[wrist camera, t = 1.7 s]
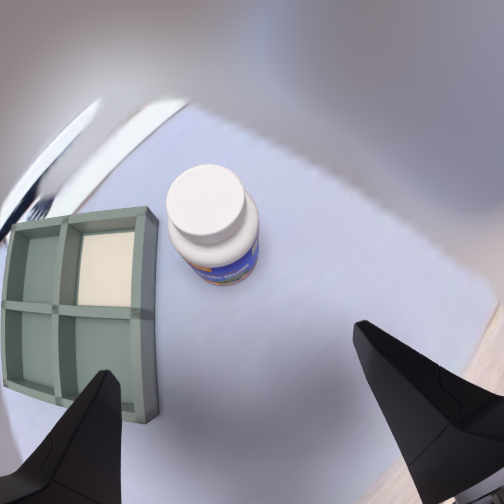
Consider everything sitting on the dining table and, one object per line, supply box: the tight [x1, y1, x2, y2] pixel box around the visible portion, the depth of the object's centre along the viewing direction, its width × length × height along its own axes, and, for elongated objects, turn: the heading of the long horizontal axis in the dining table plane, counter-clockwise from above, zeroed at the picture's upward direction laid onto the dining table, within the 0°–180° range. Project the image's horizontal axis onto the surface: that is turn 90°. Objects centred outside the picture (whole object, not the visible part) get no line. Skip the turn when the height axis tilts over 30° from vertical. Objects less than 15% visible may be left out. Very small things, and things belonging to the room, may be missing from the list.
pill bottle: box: [166, 164, 259, 286], centre depth 18 cm, size 5×5×10 cm
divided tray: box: [1, 206, 159, 424], centre depth 20 cm, size 16×16×3 cm
